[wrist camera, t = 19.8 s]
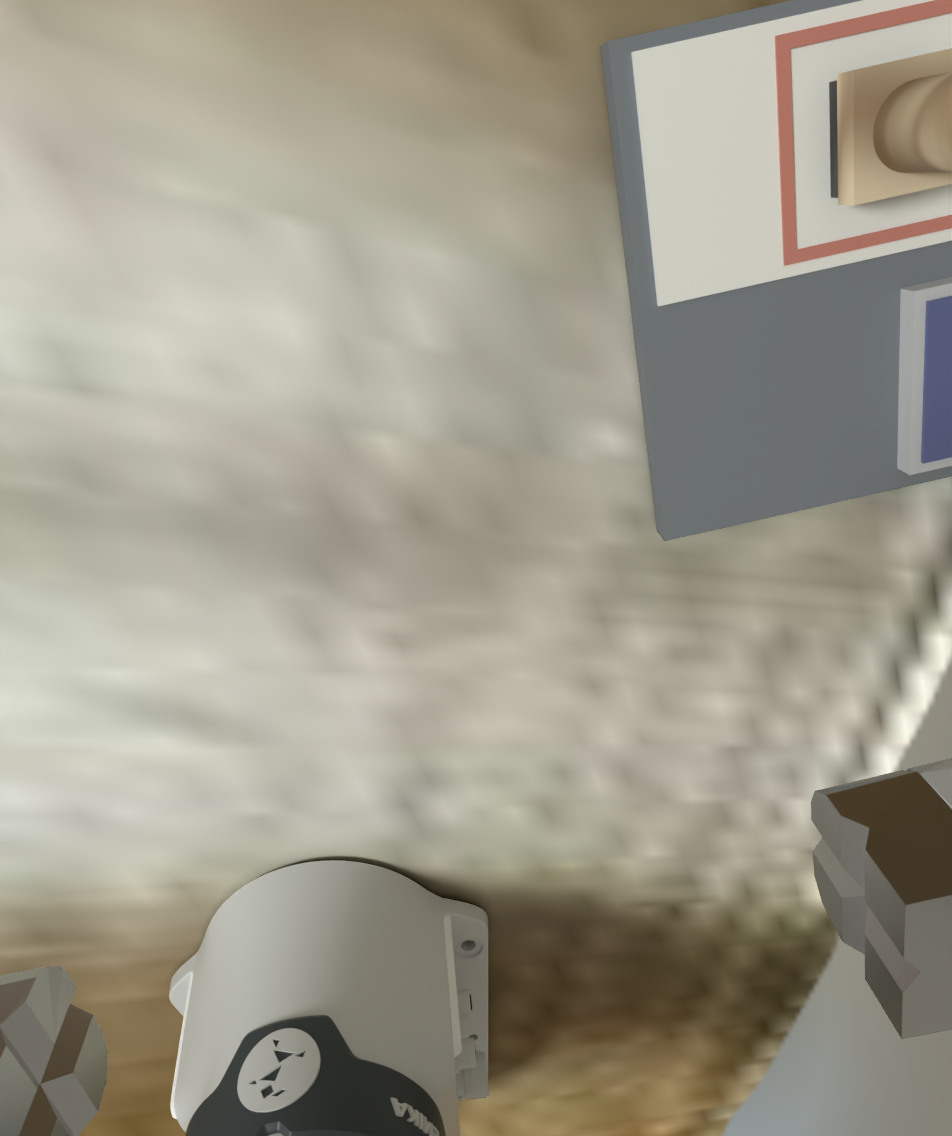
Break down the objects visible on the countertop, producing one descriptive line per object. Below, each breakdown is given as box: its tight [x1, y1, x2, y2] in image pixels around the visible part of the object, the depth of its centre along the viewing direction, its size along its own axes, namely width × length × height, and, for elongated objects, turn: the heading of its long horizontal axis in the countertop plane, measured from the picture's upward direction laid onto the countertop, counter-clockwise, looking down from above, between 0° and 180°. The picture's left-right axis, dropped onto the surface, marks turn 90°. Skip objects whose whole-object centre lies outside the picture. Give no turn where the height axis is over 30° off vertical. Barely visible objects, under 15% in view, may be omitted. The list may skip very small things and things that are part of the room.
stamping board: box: [600, 0, 952, 541], centre depth 34 cm, size 20×20×2 cm
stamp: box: [829, 48, 952, 206], centre depth 28 cm, size 4×4×8 cm
